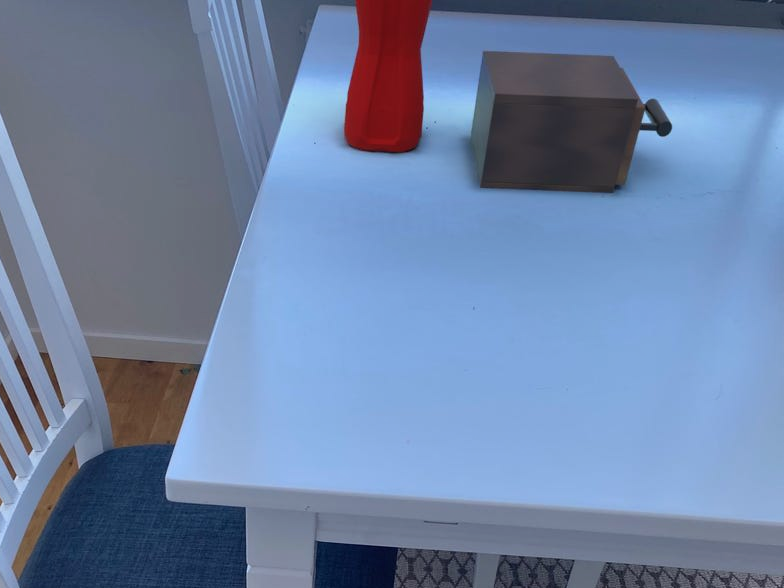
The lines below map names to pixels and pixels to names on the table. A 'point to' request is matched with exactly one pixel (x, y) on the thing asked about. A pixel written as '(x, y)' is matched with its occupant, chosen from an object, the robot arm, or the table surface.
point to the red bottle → (387, 76)
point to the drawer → (657, 124)
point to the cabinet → (550, 121)
